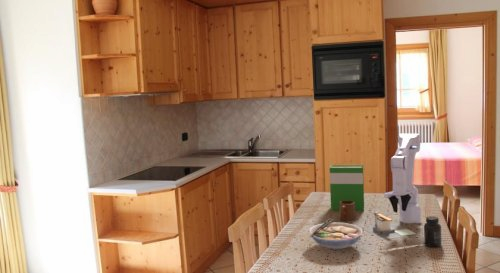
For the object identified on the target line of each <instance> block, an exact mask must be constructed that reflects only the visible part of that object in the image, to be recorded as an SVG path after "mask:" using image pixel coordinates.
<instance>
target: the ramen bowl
mask: <svg viewBox="0 0 500 273" xmlns="http://www.w3.org/2000/svg"><path fill="white" fill-rule="evenodd" d="M334 221H335V219H334V218H332V219H331V218H327V220H325V222H324V223H319V224H316V225H314V226H311V227H310V229H309V230H308V232H309V233H310V236H309V238H312V239H313V241H314V242H316V243H317V244H318V245H319V246H321V247H324V248H328V249H329V250H333V251H339V250H343V249H347V248H350V247H351V246H353V245H355V244H356V243H357V242H358V241H359V240H360V238H361V236H362V234H363V230H364V229H363V228H362V227H359V226H358V225H355V224H351V223H346V222H334ZM362 229H363V230H362Z"/></svg>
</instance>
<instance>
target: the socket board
mask: <svg viewBox="0 0 500 273" xmlns="http://www.w3.org/2000/svg"><path fill="white" fill-rule="evenodd" d="M378 217H379V216H377V215H374V225H370V226H364V227H362V229H363V230H364V231H366V232H368V233H369V234H371V235H372V236H375V237H376V238H378V239H379V240H381V241H383V240H389V239H395V238H401V237H403V238H404V237H409V236H415V235H417V233H416V232H414V231H412V230H410V229H408V228H406V227H404V226H402V225H400V224H398V223H396V222H392V223H391V222H390V230H384V231H381V230H379V229H378V226H377V218H378Z"/></svg>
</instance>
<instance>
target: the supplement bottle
mask: <svg viewBox="0 0 500 273" xmlns="http://www.w3.org/2000/svg"><path fill="white" fill-rule="evenodd" d="M425 220H426V221H425V224H424V225H423V236H424V237H423V240H424V243H423V244H424V245H425V246H426V247H428V248H440V247H441V246H442V245H443V244H442V242H443V241H442V237H443V236H442V226H441V224H440V222H439V221H440V220H439V217H438V216H433V215H429V216H426V219H425Z"/></svg>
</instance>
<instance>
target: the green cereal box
mask: <svg viewBox="0 0 500 273" xmlns="http://www.w3.org/2000/svg"><path fill="white" fill-rule="evenodd" d="M364 184H365V183H364V165H363V164H330V165H329V186H330V187H329V190H330V191H329V193H330V211H340V202H341V201H347V200H348V201H353V202H354V203H355V212H364V211H365V191H364V190H365V186H364Z"/></svg>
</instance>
